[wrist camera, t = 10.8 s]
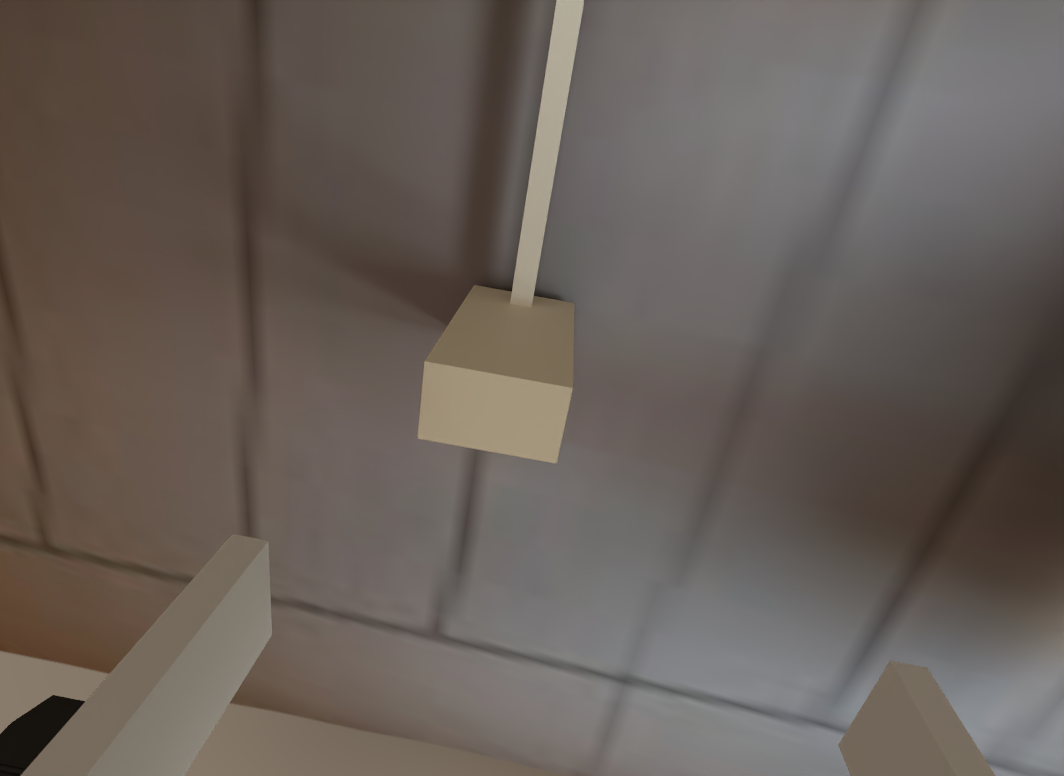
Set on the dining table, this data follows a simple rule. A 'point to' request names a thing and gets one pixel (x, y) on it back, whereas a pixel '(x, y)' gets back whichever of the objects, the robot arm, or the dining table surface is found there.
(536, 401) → the block sled
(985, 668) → the dining table surface
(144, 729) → the robot arm
